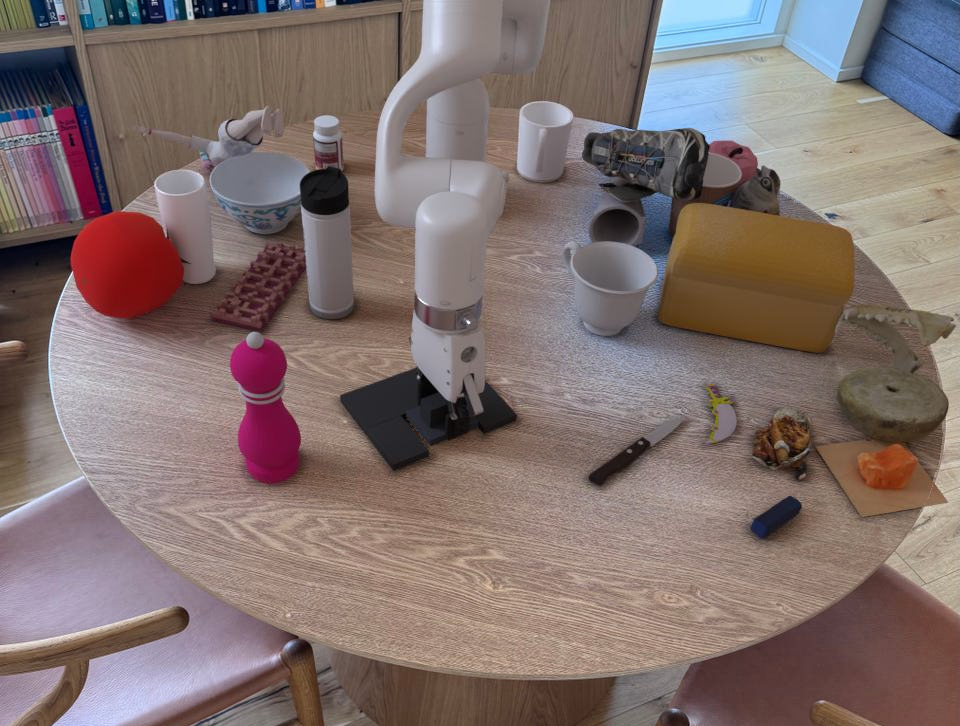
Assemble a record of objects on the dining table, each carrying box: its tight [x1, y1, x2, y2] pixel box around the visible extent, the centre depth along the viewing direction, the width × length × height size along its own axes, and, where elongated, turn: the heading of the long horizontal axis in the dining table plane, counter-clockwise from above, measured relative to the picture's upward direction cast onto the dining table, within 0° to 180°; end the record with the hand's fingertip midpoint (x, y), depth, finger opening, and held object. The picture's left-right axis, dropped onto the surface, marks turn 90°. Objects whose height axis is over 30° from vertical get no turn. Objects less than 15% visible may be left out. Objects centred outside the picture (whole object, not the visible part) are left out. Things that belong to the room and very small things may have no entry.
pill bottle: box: [312, 114, 344, 172], centre depth 156 cm, size 5×5×8 cm
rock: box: [815, 437, 949, 518], centre depth 116 cm, size 12×12×4 cm
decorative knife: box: [704, 383, 737, 444], centre depth 123 cm, size 12×1×5 cm
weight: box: [837, 365, 950, 443], centre depth 123 cm, size 14×13×5 cm
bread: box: [657, 203, 855, 354], centre depth 133 cm, size 24×13×15 cm, turn 78°
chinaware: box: [209, 151, 311, 235], centre depth 144 cm, size 15×15×8 cm
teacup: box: [561, 240, 659, 337], centre depth 132 cm, size 12×15×10 cm
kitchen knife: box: [588, 414, 686, 487], centre depth 118 cm, size 18×1×2 cm
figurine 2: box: [729, 165, 781, 216], centre depth 145 cm, size 9×19×10 cm
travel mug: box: [300, 166, 355, 320], centre depth 126 cm, size 6×7×20 cm
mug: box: [516, 100, 574, 184], centre depth 158 cm, size 11×9×10 cm
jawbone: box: [835, 303, 957, 374], centre depth 127 cm, size 12×13×8 cm
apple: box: [708, 140, 759, 201], centre depth 157 cm, size 10×9×10 cm
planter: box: [588, 177, 647, 247], centre depth 154 cm, size 8×9×26 cm
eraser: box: [750, 495, 803, 539], centre depth 111 cm, size 2×2×7 cm
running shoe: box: [581, 127, 710, 211], centre depth 141 cm, size 12×28×12 cm
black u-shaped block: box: [339, 366, 518, 472], centre depth 120 cm, size 18×14×1 cm
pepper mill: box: [229, 331, 302, 484], centre depth 105 cm, size 7×7×20 cm
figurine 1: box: [131, 105, 285, 174], centre depth 143 cm, size 29×6×30 cm
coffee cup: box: [668, 152, 742, 241], centre depth 147 cm, size 10×10×12 cm
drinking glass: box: [153, 169, 217, 285], centre depth 131 cm, size 7×7×15 cm
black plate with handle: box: [406, 392, 479, 448], centre depth 116 cm, size 7×6×4 cm
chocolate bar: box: [210, 240, 307, 333], centre depth 135 cm, size 7×19×2 cm, turn 164°
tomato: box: [70, 210, 191, 320], centre depth 127 cm, size 16×14×14 cm
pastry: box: [751, 407, 812, 481], centre depth 119 cm, size 7×12×4 cm, turn 163°
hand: (442, 418), depth 117 cm, fingers closed on black plate with handle, 5 cm apart
